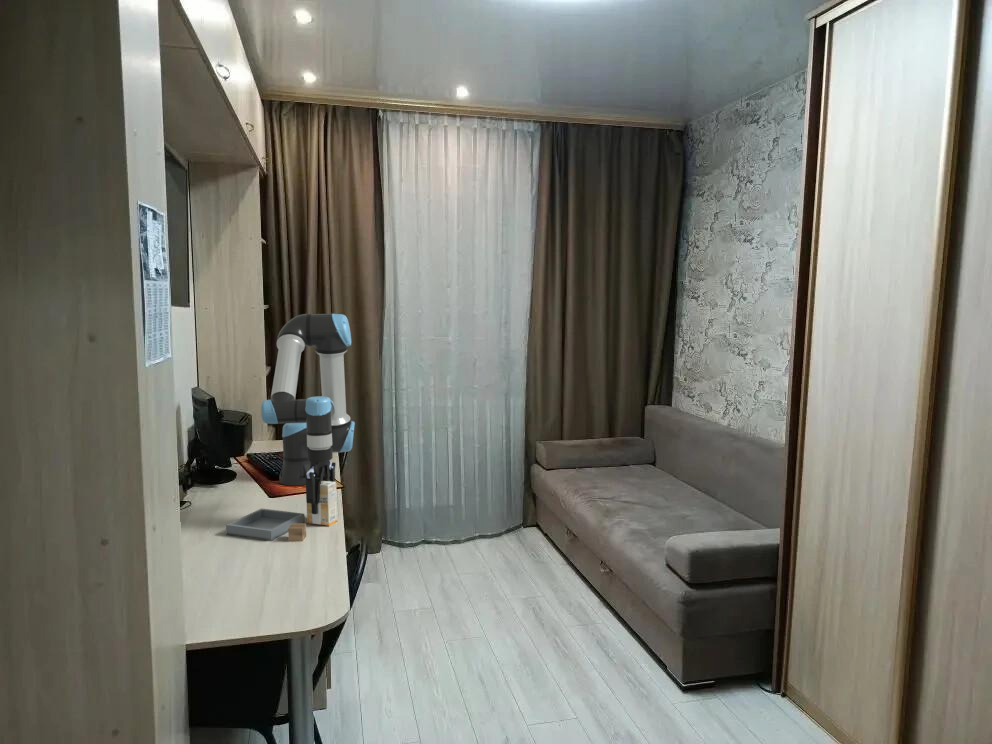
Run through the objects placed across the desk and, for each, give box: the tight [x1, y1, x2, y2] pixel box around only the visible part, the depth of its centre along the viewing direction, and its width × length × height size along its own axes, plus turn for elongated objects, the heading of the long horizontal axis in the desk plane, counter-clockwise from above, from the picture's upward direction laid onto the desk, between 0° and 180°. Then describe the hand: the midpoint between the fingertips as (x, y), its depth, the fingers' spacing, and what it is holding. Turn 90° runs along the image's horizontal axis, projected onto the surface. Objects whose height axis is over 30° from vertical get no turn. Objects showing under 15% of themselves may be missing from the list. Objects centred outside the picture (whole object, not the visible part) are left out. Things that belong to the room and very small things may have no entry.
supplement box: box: [306, 481, 338, 527], centre depth 204 cm, size 8×5×13 cm, turn 70°
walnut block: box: [287, 522, 307, 542], centre depth 191 cm, size 4×4×4 cm
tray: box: [225, 508, 305, 542], centre depth 199 cm, size 16×16×3 cm
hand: (322, 520), depth 205 cm, fingers closed on supplement box, 5 cm apart
